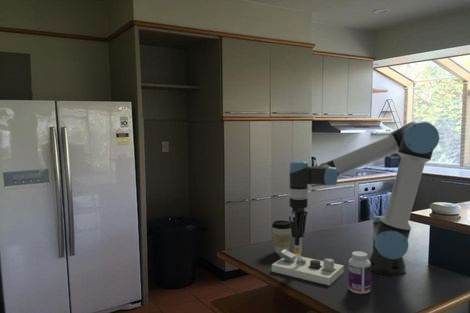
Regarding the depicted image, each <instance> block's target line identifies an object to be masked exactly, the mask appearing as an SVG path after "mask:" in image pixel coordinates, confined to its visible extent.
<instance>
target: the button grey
mask: <svg viewBox="0 0 470 313" xmlns="http://www.w3.org/2000/svg"><path fill="white" fill-rule="evenodd" d="M323 261H324V271H328V272H332V271H334V264H335V259H333V258H323Z"/></svg>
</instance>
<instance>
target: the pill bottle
mask: <svg viewBox="0 0 470 313" xmlns="http://www.w3.org/2000/svg"><path fill="white" fill-rule="evenodd" d="M371 275H372V270H371V262H370V261H369V259H368V253H367V252H364V251H360V250H359V251H357V250H356V251H355V250H354V251H353V252H351V258H350V259H348V276H347V278H348V279H347V280H348V282H347V283H348V284H347V285H348V286H347V288H348V290H350V291H351V292H352V293H354V294H356V295H357V294H358V295H363V294H368V293H370V292H371V289H372V287H371V286H372V285H371V283H372V282H371V280H372V278H371V277H372V276H371Z"/></svg>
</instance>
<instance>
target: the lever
mask: <svg viewBox="0 0 470 313" xmlns="http://www.w3.org/2000/svg"><path fill="white" fill-rule="evenodd" d="M293 254H295V255H296V258H297V260H298V262H299V264H302V261H303V259H302V257H303V255H302V254H301V253H300V250H299V249H298V248H296V249H295V248H294V249H293Z"/></svg>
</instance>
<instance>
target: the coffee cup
mask: <svg viewBox="0 0 470 313" xmlns="http://www.w3.org/2000/svg"><path fill="white" fill-rule="evenodd" d="M271 228H272V231H273V232H272V235H273V241H274V250H275V254H277V255H279V254H280V252H281V251H283V250H284V249H285V250H287V251H289V252H290V250H289V248H290V244H291V237H292V233H291V225H290V220H289V221H288V220H284V219H283V220H274V221H273V222H272V225H271Z"/></svg>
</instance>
